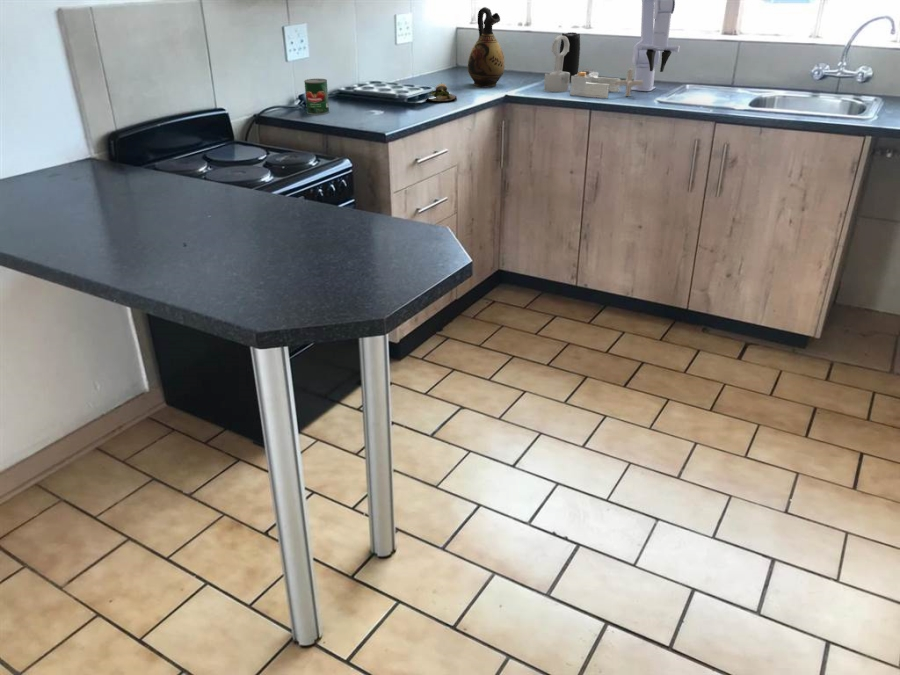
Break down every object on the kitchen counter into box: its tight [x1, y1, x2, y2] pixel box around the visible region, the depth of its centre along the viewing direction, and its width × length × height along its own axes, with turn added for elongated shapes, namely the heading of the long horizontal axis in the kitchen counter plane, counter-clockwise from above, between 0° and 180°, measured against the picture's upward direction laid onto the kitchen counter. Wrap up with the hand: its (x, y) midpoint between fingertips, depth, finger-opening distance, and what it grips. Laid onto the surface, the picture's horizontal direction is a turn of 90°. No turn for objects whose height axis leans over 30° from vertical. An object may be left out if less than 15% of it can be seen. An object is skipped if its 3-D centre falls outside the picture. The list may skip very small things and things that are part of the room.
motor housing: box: [569, 68, 621, 99], centre depth 294 cm, size 16×15×8 cm
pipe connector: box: [616, 68, 643, 97], centre depth 288 cm, size 10×10×10 cm
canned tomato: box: [303, 78, 330, 116], centre depth 263 cm, size 8×8×11 cm
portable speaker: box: [559, 32, 581, 81], centre depth 319 cm, size 8×9×19 cm
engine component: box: [543, 34, 571, 93], centre depth 299 cm, size 11×20×10 cm
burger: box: [427, 83, 458, 102], centre depth 283 cm, size 12×12×8 cm
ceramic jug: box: [467, 6, 506, 88], centre depth 307 cm, size 17×15×30 cm
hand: (656, 71), depth 281 cm, fingers open, 3 cm apart
